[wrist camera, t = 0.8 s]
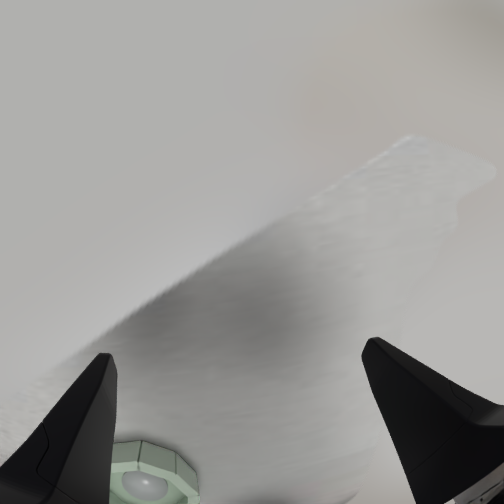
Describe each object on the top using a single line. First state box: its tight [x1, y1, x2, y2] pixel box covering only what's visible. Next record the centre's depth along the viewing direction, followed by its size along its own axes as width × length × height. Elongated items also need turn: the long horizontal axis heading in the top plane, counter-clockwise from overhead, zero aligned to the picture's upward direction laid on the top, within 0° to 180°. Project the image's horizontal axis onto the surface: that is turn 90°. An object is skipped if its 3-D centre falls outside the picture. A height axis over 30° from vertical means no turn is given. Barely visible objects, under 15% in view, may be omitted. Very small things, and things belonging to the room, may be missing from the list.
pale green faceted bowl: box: [109, 441, 200, 504], centre depth 18 cm, size 10×10×4 cm
